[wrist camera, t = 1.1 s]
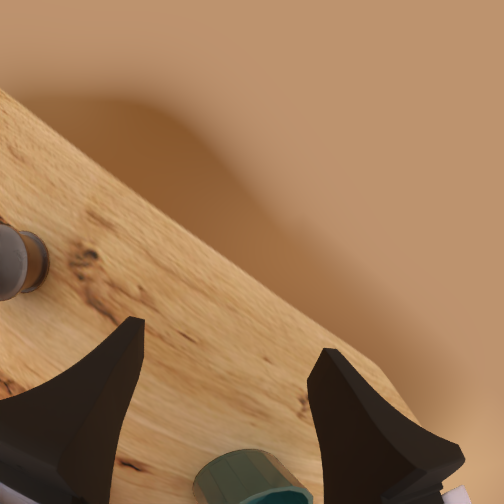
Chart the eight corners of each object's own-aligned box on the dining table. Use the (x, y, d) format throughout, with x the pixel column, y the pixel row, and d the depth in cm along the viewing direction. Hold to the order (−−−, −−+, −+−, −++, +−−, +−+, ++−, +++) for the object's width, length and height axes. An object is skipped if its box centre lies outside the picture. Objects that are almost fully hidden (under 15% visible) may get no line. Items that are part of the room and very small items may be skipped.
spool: (-5, 281, 17) (-35, 286, 12) (9, 224, 17) (-19, 214, 12) (42, 300, 19) (20, 311, 14) (56, 241, 19) (36, 236, 14)
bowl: (185, 511, 22) (204, 553, 16) (203, 447, 23) (228, 491, 17) (265, 507, 26) (293, 540, 19) (290, 447, 27) (327, 479, 21)
